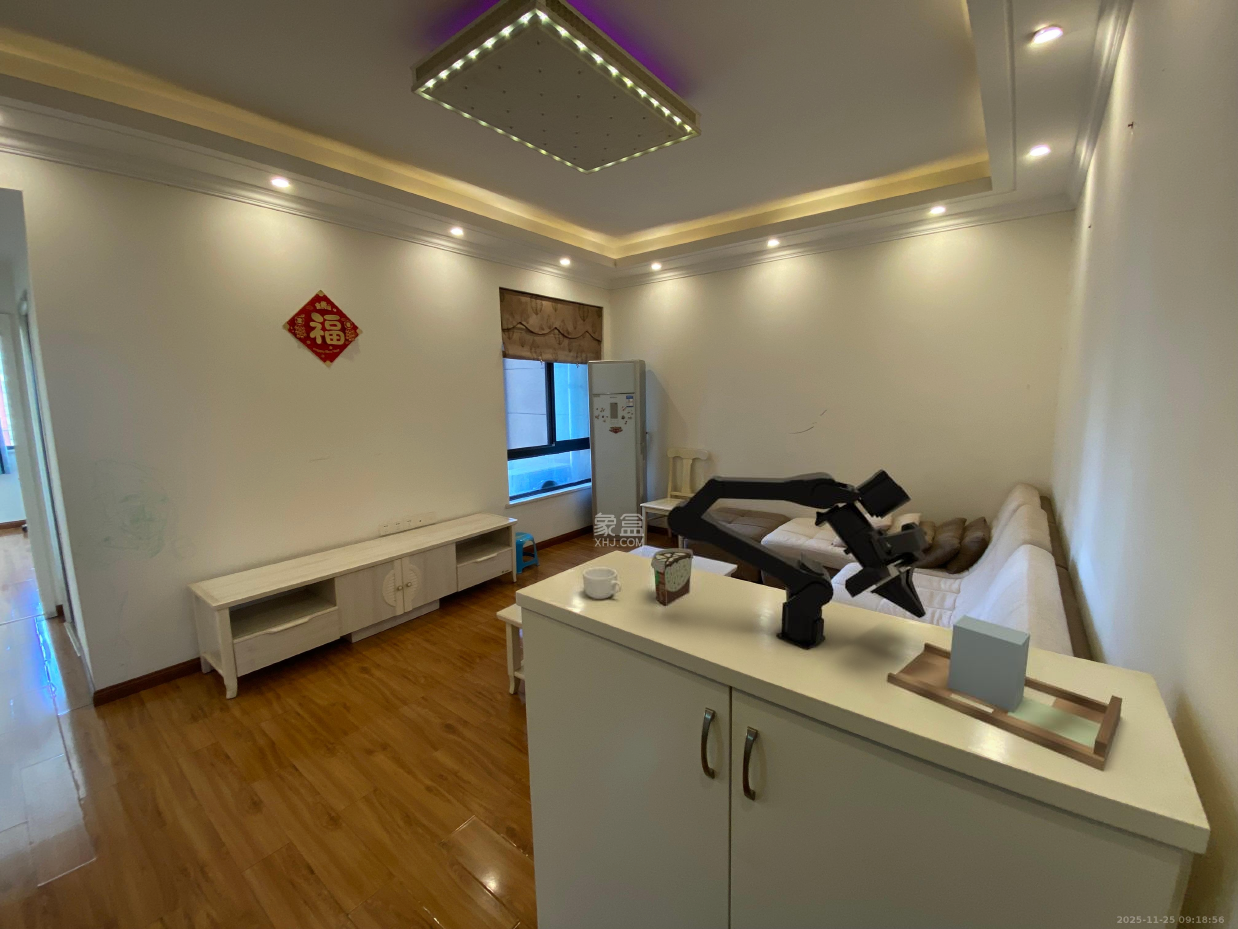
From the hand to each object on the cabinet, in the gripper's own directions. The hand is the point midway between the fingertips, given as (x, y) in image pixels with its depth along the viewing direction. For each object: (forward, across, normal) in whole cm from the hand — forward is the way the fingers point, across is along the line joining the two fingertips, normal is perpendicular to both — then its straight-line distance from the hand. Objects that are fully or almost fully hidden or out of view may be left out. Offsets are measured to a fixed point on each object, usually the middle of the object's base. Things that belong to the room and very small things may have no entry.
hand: (922, 616), depth 79 cm
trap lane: (+14, 0, -1) cm, 14 cm away
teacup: (-33, -19, +48) cm, 62 cm away
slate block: (+12, 0, 0) cm, 13 cm away
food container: (-27, -8, +42) cm, 50 cm away
